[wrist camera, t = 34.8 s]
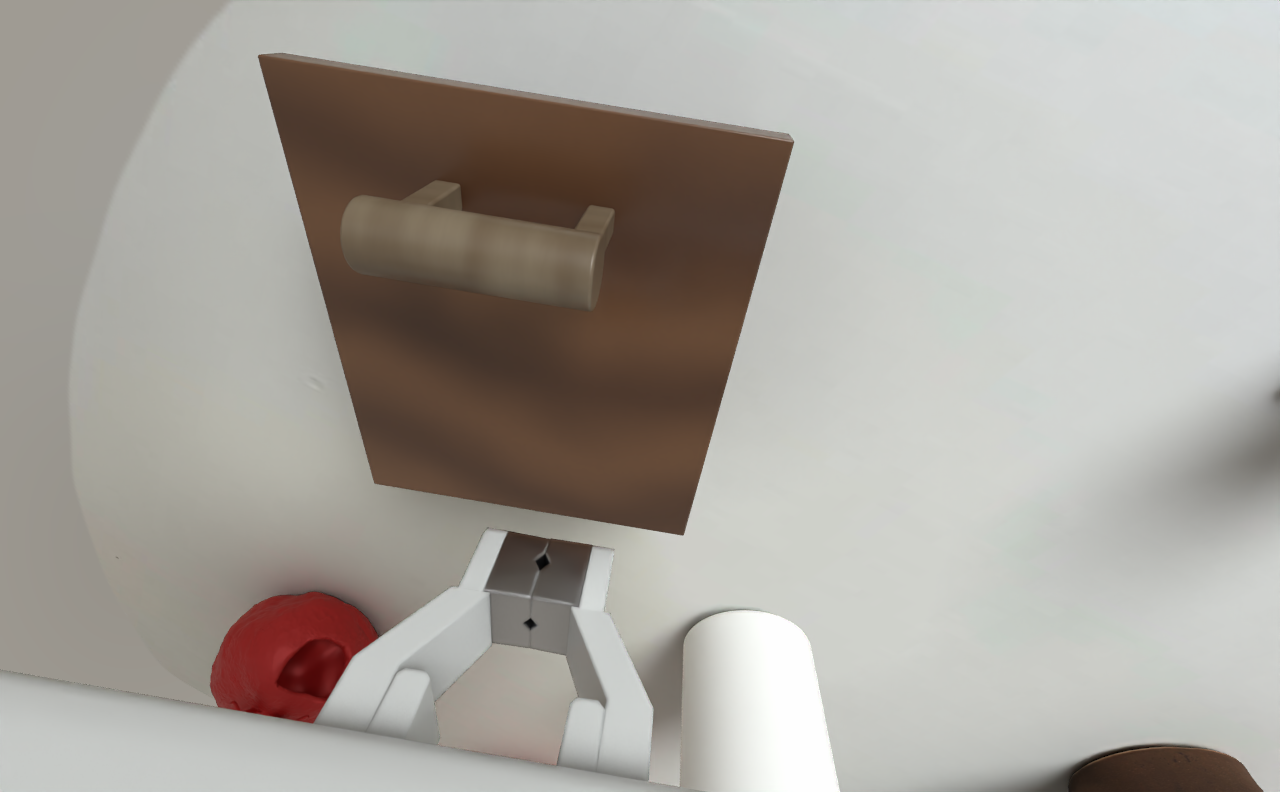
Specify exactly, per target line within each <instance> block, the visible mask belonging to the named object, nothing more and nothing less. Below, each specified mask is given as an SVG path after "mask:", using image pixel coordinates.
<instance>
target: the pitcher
mask: <svg viewBox="0 0 1280 792" xmlns="http://www.w3.org/2000/svg"><path fill="white" fill-rule="evenodd" d="M1068 789H1069V792H1264V791H1263V790H1262V789H1261V788H1260V787H1259V786H1258V785H1257V783H1256V782H1255V781H1254V779H1253V778H1252V777H1251V775H1250V774H1249V772H1248V771H1247V769H1246V768H1245V767H1244V765H1243V764H1242V763H1241V762H1239V761H1238V760H1237V759H1235V758H1233V757H1231V756H1229V755H1227V754H1224V753H1221V752H1217V751H1213V750H1207V749H1200V748H1193V749H1192V748H1181V747H1157V748H1145V749H1138V750H1130V751H1126V752H1121V753H1116V754H1113V755H1109V756H1107V757H1103V758H1101V759H1098V760H1096V761H1093V762H1091V763H1089V764H1087V765H1086V766H1084V767H1082V768H1081V769H1080V770H1078V771H1077V772H1076V773H1075V774H1074V775H1073V776H1072V777H1071V779H1070V781H1069V785H1068Z"/></svg>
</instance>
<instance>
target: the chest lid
mask: <svg viewBox="0 0 1280 792" xmlns="http://www.w3.org/2000/svg"><path fill="white" fill-rule="evenodd" d="M258 58H259V62H260V66H261V69H262V73H263V77H264V80H265V84H266V88H267V91H268V95H269V99H270V102H271V106H272V110H273V113H274V117H275V121H276V124H277V128H278V132H279V135H280V139H281V143H282V146H283V150H284V154H285V157H286V161H287V165H288V168H289V172H290V176H291V179H292V183H293V187H294V190H295V194H296V198H297V201H298V205H299V209H300V212H301V216H302V220H303V223H304V227H305V231H306V234H307V238H308V242H309V245H310V249H311V253H312V256H313V260H314V264H315V267H316V271H317V275H318V278H319V282H320V286H321V289H322V293H323V297H324V300H325V304H326V308H327V311H328V315H329V319H330V322H331V326H332V330H333V333H334V337H335V341H336V344H337V348H338V352H339V355H340V359H341V363H342V366H343V370H344V374H345V377H346V381H347V385H348V388H349V392H350V396H351V399H352V403H353V407H354V410H355V414H356V418H357V421H358V425H359V429H360V432H361V436H362V440H363V443H364V447H365V451H366V454H367V458H368V462H369V465H370V469H371V473H372V476H373V480H374V483H375V484H380V485H386V486H392V487H398V488H404V489H410V490H416V491H422V492H428V493H434V494H440V495H446V496H452V497H457V498H463V499H469V500H475V501H481V502H487V503H493V504H499V505H505V506H511V507H517V508H523V509H529V510H535V511H541V512H546V513H552V514H558V515H564V516H570V517H576V518H582V519H588V520H594V521H600V522H606V523H612V524H618V525H624V526H630V527H635V528H641V529H647V530H653V531H659V532H665V533H671V534H677V535H684V532H685V529H686V525H687V522H688V518H689V514H690V511H691V507H692V504H693V500H694V497H695V493H696V489H697V486H698V482H699V479H700V475H701V472H702V468H703V465H704V461H705V457H706V454H707V450H708V447H709V443H710V440H711V436H712V433H713V429H714V425H715V422H716V418H717V415H718V411H719V408H720V404H721V401H722V397H723V393H724V390H725V386H726V383H727V379H728V376H729V372H730V369H731V365H732V361H733V358H734V354H735V351H736V347H737V344H738V340H739V336H740V333H741V329H742V326H743V322H744V319H745V315H746V312H747V308H748V304H749V301H750V297H751V294H752V290H753V287H754V283H755V280H756V276H757V272H758V269H759V265H760V262H761V258H762V255H763V251H764V248H765V244H766V240H767V237H768V233H769V230H770V226H771V223H772V219H773V215H774V212H775V208H776V205H777V201H778V198H779V194H780V191H781V187H782V183H783V180H784V176H785V173H786V169H787V166H788V162H789V159H790V155H791V151H792V148H793V144H794V140H793V139H792V138H791V136H790V135H789V134H785V133H779V132H773V131H767V130H760V129H754V128H748V127H742V126H735V125H729V124H723V123H717V122H710V121H704V120H698V119H692V118H685V117H679V116H673V115H667V114H660V113H654V112H648V111H642V110H635V109H629V108H623V107H617V106H610V105H604V104H598V103H592V102H585V101H579V100H573V99H567V98H560V97H554V96H548V95H542V94H535V93H529V92H523V91H517V90H510V89H504V88H498V87H492V86H485V85H479V84H473V83H467V82H460V81H454V80H448V79H442V78H435V77H429V76H423V75H417V74H410V73H404V72H398V71H392V70H385V69H379V68H373V67H367V66H360V65H354V64H348V63H342V62H335V61H329V60H323V59H317V58H310V57H304V56H298V55H292V54H285V53H274V54H263V55H258Z"/></svg>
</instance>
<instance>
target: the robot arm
mask: <svg viewBox="0 0 1280 792" xmlns="http://www.w3.org/2000/svg"><path fill="white" fill-rule="evenodd" d="M613 557H614V549H611V548H605V547H599V546H593V545H589V544H583V543H576V542H570V541H564V540H557V539H546V538H541V537H536V536H531V535H526V534H521V533H516V532H511V531H505V530H499V529H494V528H487V529H486V530H485V531H484V532H483V534H482V536H481V538H480V540H479V543H478V545H477V547H476V549H475V551H474V553H473V555H472V558H471V560H470V562H469V564H468V566H467V568H466V571H465V573H464V575H463V577H462V579H461V581H460V583H459V586H458V587H455V586H451V587H449V588H448V589H447V590H445V591H444V592H442V593H441V594H440V595H438V596H437V597H435V598H434V599H433V600H431V601H430V602H428V603H427V604H426V605H424V606H423V607H421V608H420V609H419V610H417V611H416V612H414V613H413V614H412V615H410V616H409V617H407V618H406V619H405V620H403V621H402V622H400V623H399V624H398V625H396V626H395V627H393V628H392V629H391V630H389V631H388V632H386V633H385V634H383V635H382V636H381V637H379V638H378V639H376V640H375V641H374V642H372V643H371V644H369V645H368V646H367V647H365V648H364V649H362V650H361V651H360V652H358V653H357V654H355V655H354V656H353V657H352V659H351V661H350V662H349V664H348V666H347V667H346V669H345V671H344V672H343V674H342V676H341V677H340V679H339V681H338V682H337V684H336V686H335V688H334V689H333V691H332V693H331V694H330V696H329V698H328V699H327V701H326V703H325V704H324V706H323V708H322V709H321V711H320V713H319V715H318V716H317V718H316V720H315V721H314V723H307V722H301V721H295V720H290V719H284V718H278V717H272V716H266V715H261V714H255V713H249V712H243V711H237V710H232V709H226V708H220V707H214V706H208V705H203V704H197V703H191V702H185V701H179V700H174V699H168V698H162V697H156V696H150V695H145V694H139V693H133V692H127V691H122V690H115V689H110V688H104V687H98V686H92V685H87V684H81V683H75V682H69V681H64V680H58V679H52V678H46V677H40V676H35V675H29V674H23V673H17V672H11V671H5V670H0V792H705V791H700V790H694V789H688V788H682V787H677V786H671V785H665V784H659V783H654V782H648V780H649V766H650V752H651V738H652V724H653V710H654V709H653V706H652V704H651V702H650V700H649V698H648V695H647V693H646V691H645V689H644V687H643V684H642V682H641V680H640V678H639V676H638V673H637V671H636V669H635V667H634V665H633V662H632V660H631V658H630V656H629V654H628V651H627V649H626V647H625V645H624V643H623V640H622V638H621V636H620V634H619V632H618V629H617V627H616V625H615V623H614V621H613V618H612V616H611V614H610V613H607V612H605V606H606V600H607V594H608V588H609V581H610V575H611V569H612V563H613ZM492 643H497V644H504V645H511V646H518V647H525V648H531V649H536V650H541V651H546V652H551V653H556V654H561V655H566V658H567V662H568V665H569V668H570V671H571V675H572V678H573V681H574V684H575V688H576V691H577V694H578V697H577V698H576V699H575V700H573V701H572V702H571V703H570V706H569V711H568V716H567V720H566V725H565V729H564V734H563V739H562V743H561V748H560V752H559V757H558V761H557V766H555V765H550V764H544V763H538V762H532V761H527V760H521V759H515V758H509V757H503V756H498V755H492V754H486V753H480V752H475V751H469V750H463V749H457V748H452V747H446V746H440V745H438V742H439V740H440V734H439V728H438V722H437V716H436V710H435V704H434V702H435V701H436V700H437V699H438V698H439V697H440V696H441V695H442V694H443V693H444V692H445V691H446V690H447V689H448V688H449V687H450V686H451V685H452V684H453V683H454V682H455V681H456V680H457V679H458V678H459V677H460V676H461V675H462V674H463V673H464V672H465V671H466V670H467V669H468V668H469V667H470V666H471V665H472V664H473V663H474V662H475V661H476V660H477V659H478V658H480V657H481V656H482V655H483V654H484V653H485V652H486V651H487V650H488V649H489V648H490V647H491V646H492Z"/></svg>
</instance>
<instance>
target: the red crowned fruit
mask: <svg viewBox="0 0 1280 792" xmlns="http://www.w3.org/2000/svg"><path fill="white" fill-rule="evenodd" d="M378 638H379V637H378V635H377V633H376V631H375V630H374V628H373V626H372V625H371V623H370V622H369V620H368V619H367V617H366V616H364V615H363V614H362V613H361V612H360V611H359V610H358V609H356V608H355V607H354V606H352V605H350V604H346V603H344V602H342V601H341V600H339V599H337V598H335V597H333V596H329V595H326V594H323V593H321V592H308V593H306V594H303V595H298V596H295V595H279V596H274V597H271V598H268V599H266V600H264V601H262V602H260V603H258V604H256V605H254V606H253V607H252V608H251V609H250V610H249V611H247V612H246V613H245V614H244V615H243V616H241V617H240V619H239V620H238V621H237V622H236V623H234V624H233V625H232V626H231V628H230V629H229V631H228V633H227V634H226V636H225V638H224V641H223V642H222V644H221V647H220V650H219V653H218V655H217V656H216V659H215V661H214V663H213V665H212V673H211V683H210V687H211V691H212V694H213V696H214V698H215V700H216V703H217V705H218V707H220V708H226V709H232V710H237V711H243V712H249V713H255V714H261V715H266V716H272V717H278V718H284V719H290V720H295V721H301V722H307V723H314V721H315V720H316V718H317V716H318V715H319V713H320V711H321V709H322V708H323V706H324V704H325V703H326V701H327V699H328V698H329V696H330V694H331V693H332V691H333V689H334V688H335V686H336V684H337V682H338V681H339V679H340V677H341V676H342V674H343V672H344V671H345V669H346V667H347V666H348V664H349V662H350V661H351V659H352V657H353V656H354V655H355V654H357V653H358V652H360V651H361V650H362V649H364V648H365V647H367V646H368V645H369V644H371V643H372V642H374V641H375V640H376V639H378Z"/></svg>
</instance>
